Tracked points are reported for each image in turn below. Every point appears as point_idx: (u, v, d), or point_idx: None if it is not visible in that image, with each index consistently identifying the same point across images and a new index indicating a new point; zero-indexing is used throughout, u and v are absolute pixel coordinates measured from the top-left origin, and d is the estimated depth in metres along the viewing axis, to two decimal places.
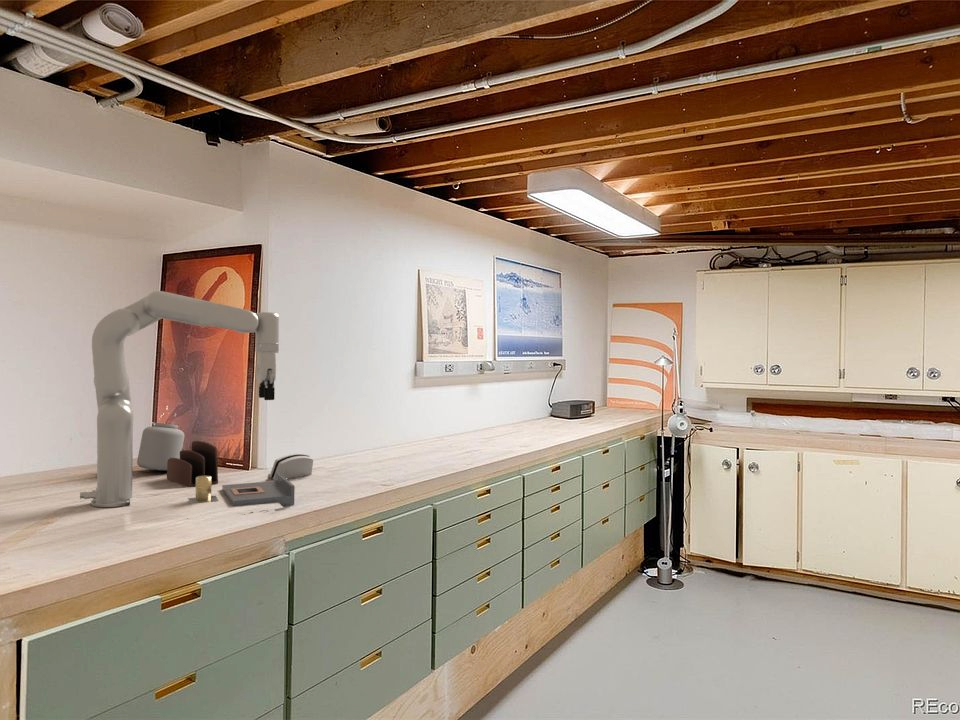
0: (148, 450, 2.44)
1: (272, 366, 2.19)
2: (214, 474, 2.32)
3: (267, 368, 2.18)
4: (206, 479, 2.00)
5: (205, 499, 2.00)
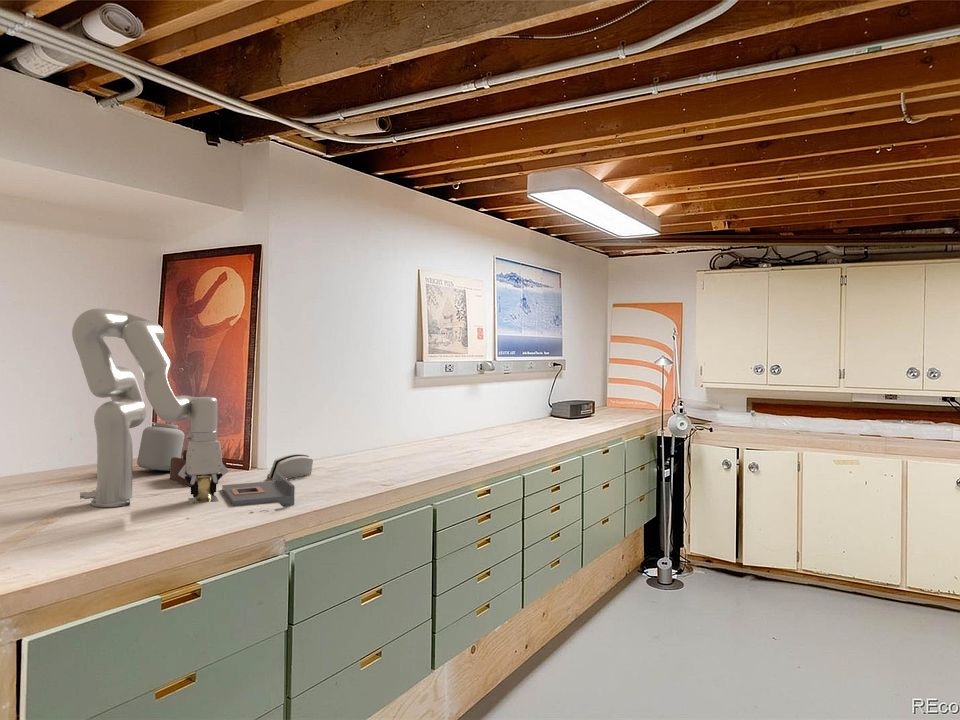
0: (148, 450, 2.44)
1: None
2: None
3: None
4: (206, 479, 2.00)
5: (205, 499, 2.00)
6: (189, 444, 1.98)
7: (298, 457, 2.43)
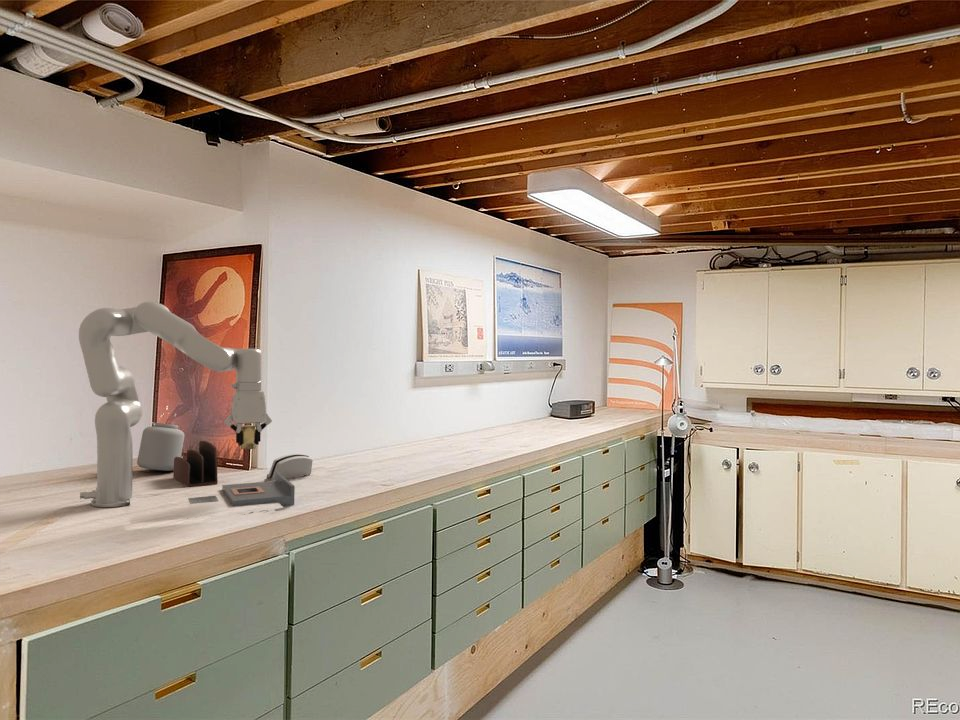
0: (148, 450, 2.44)
1: None
2: (214, 474, 2.31)
3: None
4: (251, 428, 2.06)
5: (250, 447, 2.06)
6: (235, 393, 2.04)
7: (297, 457, 2.43)
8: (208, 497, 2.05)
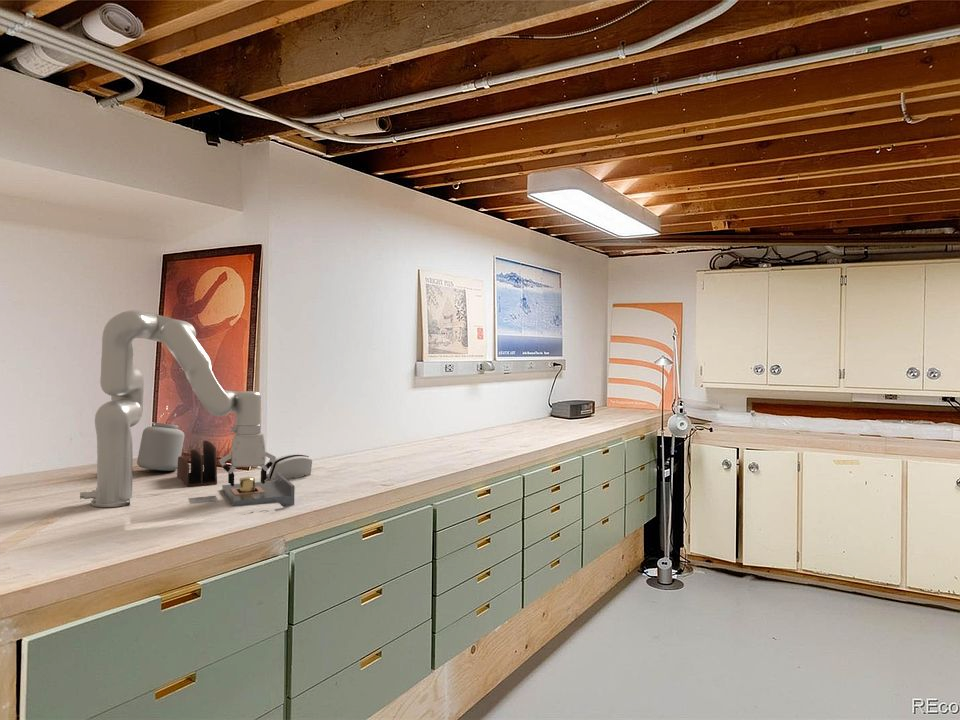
0: (148, 450, 2.44)
1: None
2: (214, 474, 2.31)
3: None
4: (250, 480, 2.06)
5: None
6: (234, 437, 2.04)
7: (297, 457, 2.43)
8: (208, 497, 2.05)
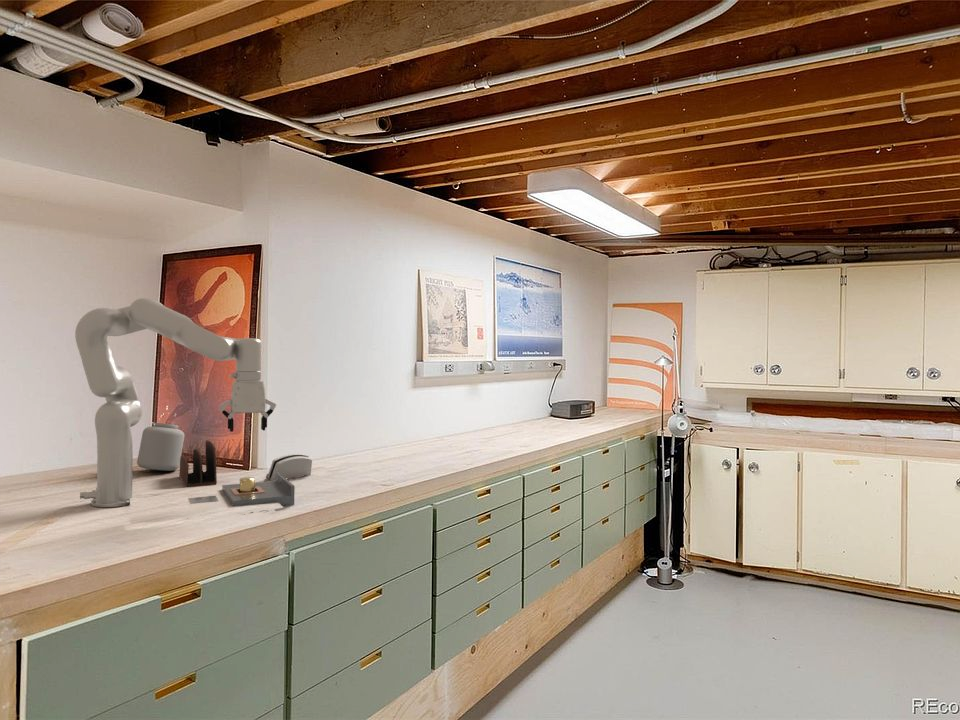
0: (148, 450, 2.44)
1: None
2: (214, 474, 2.31)
3: None
4: (250, 480, 2.06)
5: None
6: (234, 383, 2.04)
7: (297, 457, 2.43)
8: (208, 497, 2.05)
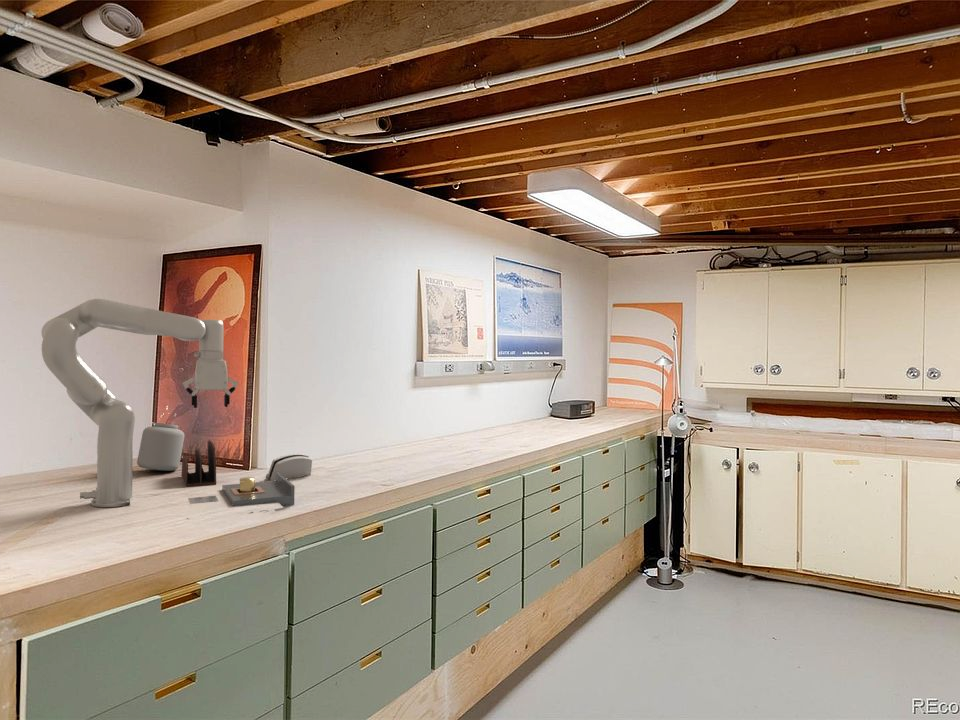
0: (148, 450, 2.44)
1: None
2: (213, 475, 2.31)
3: None
4: (250, 480, 2.06)
5: None
6: (198, 361, 2.16)
7: (297, 457, 2.43)
8: (208, 497, 2.05)
